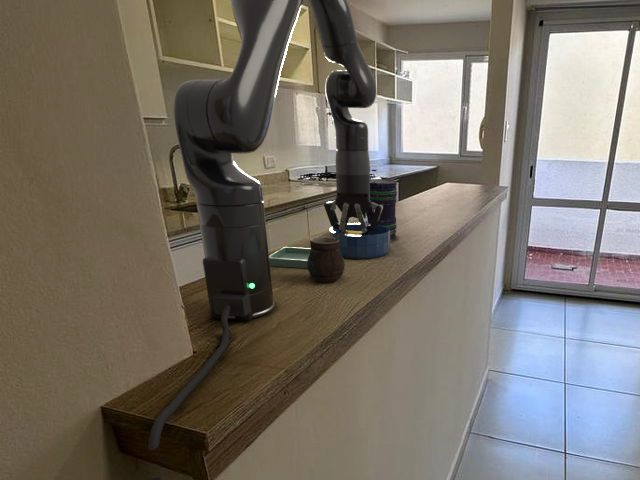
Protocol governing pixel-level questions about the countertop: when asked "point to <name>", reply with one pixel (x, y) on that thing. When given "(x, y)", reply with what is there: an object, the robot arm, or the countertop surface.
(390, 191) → the storage jar
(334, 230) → the bowl
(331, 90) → the robot arm
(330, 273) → the mate gourd
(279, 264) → the soap dish
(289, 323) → the countertop surface
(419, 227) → the countertop surface
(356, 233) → the sponge
